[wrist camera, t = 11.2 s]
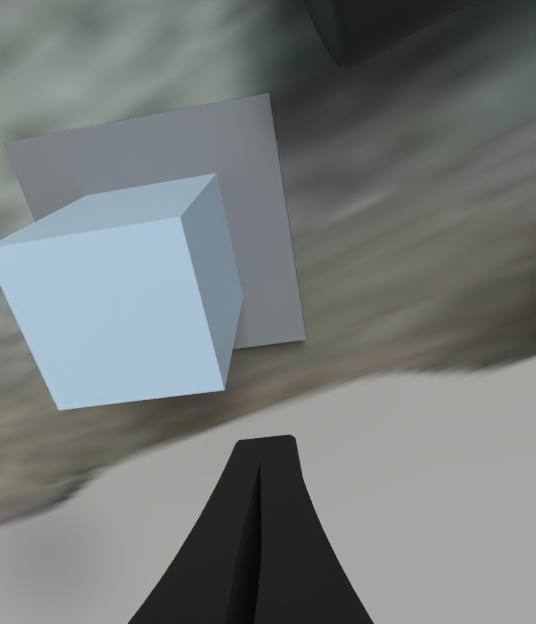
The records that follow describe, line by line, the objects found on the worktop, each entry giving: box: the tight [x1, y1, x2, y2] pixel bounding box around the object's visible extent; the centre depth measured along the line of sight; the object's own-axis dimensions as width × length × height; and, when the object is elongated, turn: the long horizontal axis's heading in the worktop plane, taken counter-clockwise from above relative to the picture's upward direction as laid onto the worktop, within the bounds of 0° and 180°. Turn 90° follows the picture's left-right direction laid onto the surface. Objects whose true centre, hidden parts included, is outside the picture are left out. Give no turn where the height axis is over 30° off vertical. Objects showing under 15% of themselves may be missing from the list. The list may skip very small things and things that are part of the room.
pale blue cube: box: [0, 173, 243, 410], centre depth 15 cm, size 5×5×7 cm
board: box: [3, 93, 306, 349], centre depth 19 cm, size 10×10×1 cm
